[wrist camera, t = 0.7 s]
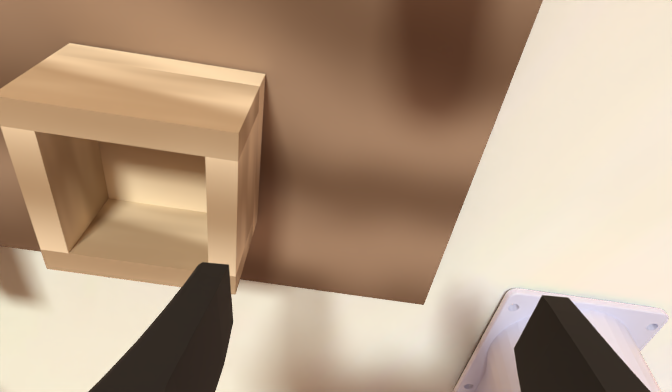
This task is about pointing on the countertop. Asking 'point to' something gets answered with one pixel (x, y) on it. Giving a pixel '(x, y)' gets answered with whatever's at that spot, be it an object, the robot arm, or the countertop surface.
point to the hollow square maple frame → (136, 162)
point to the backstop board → (319, 118)
